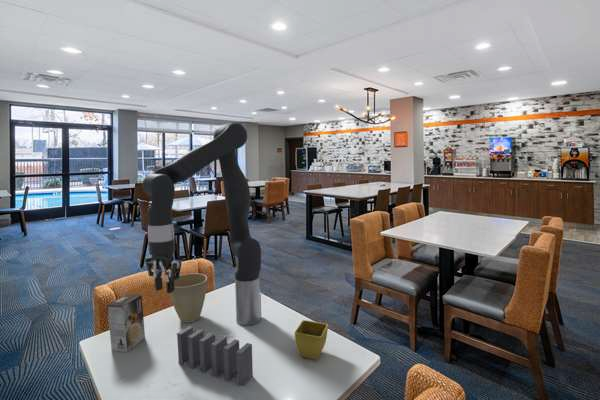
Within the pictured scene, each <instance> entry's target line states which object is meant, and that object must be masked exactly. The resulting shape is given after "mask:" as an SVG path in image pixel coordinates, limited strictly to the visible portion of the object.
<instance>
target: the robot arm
mask: <svg viewBox="0 0 600 400" xmlns="http://www.w3.org/2000/svg"><path fill="white" fill-rule="evenodd" d="M247 140H248V132H247V130H246V127H245V126H244V125H242V124H240V123H237V122H229V123H224V124H223V123H222V124H220V125H218V126H217V127H216V128H215V130H214V132H213V139H212V140H210V141H209V142H206V143H204V144H203V145H200V146H199V147H198V146H197V147H196V148H194V149H192V150H190V151H188V152H186V153H185V154H183V155H181V156H180V157H178V158H177V159H175V160H174V161H172V162H171V163H169V164H167V165H165V166H162V167H160V168H159V169H156V170H155V171H152V172H150V173H149V174H148V175H146V177H144V178H143V180H142V183H141V187H142V188H141V189H142V191H143V192H144V193H145V194H146V195H148V196H149V197H150V196H151V203H150V204H151V205H150V206H149V207H148V208H147V214H146V215H147V224H148V225H147V239H148V240H147V241H148V253H149V257H146V258H145V259H144V261H145V265H146V269H147V272H148V275H149V277H152V279H153V280H154V288H155V291H160V290H162V289H163V288H164V285H163V284H164V283H163V277H162V276H164V277H165V281H166V282H165V284H166V285H165V286H166V293H168V294H170V293H171V292H173V291H174V280H176V279H178V278H179V275H181V269H182V261H181V260H179V261H177V260H175V257H174V253H175V252H176V245H175V244H176V242H175V229H174V223H173V211H172V208H173V205H174V199H175V185H176V184H178V183H182V182H183V183H184V182H186V181H187V180H189V179H190V178H192V177H193V176H194V175H197V173H199V172H200V171H201V170H203V169H204V168H205V167H207V166H208V165H211V164H212V163H213V162H215V161H216V160H218V162H219V167H220V174H221V178H222V185H223V193H224V199H225V205H226V210H227V216H228V217H227V218H228V222H229V231H230V232H229V233H230V234H229V235H230V250H231V252H232V255H234V257H236V258H237V261H238V262H237V269H235V272H234V284H235V286H234V289H235V315H236V317H235V318H236V319H235V320H236V323H237V324H238V325H241V326H254V325H256V324H258V323H259V322H260V321H261V317H262V294H261V293H260V292H261V290H260V289H261V288H260V272H261V269H262V248H261V247H262V246H261V244H260V242H259V240H257V239H255V238H254V237H252V236H251V233H250V228H249V214H250V211H251V210H250V209H251V201H252V200H251V194H250V192H251V191H250V187H249V183H248V180H247V178H246V176H245V174H244V173H243V171H242V169H241V167H240V165H239V162H238V159H237V151H236V150H238V149H240V148H242V147H243V146H244V145H245V144H246V143H247Z"/></svg>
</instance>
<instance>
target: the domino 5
mask: <svg viewBox="0 0 600 400" xmlns="http://www.w3.org/2000/svg"><path fill="white" fill-rule="evenodd" d="M239 349H240V340H239V339H236V338H235V339H233V340H232V341H230V342H229V343H227V345H226V346H225V347H224V381H225V382H227V383H230V382H231V381H233V380H234V378H236V377H237V353H236V352H237V351H238V350H239Z"/></svg>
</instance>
